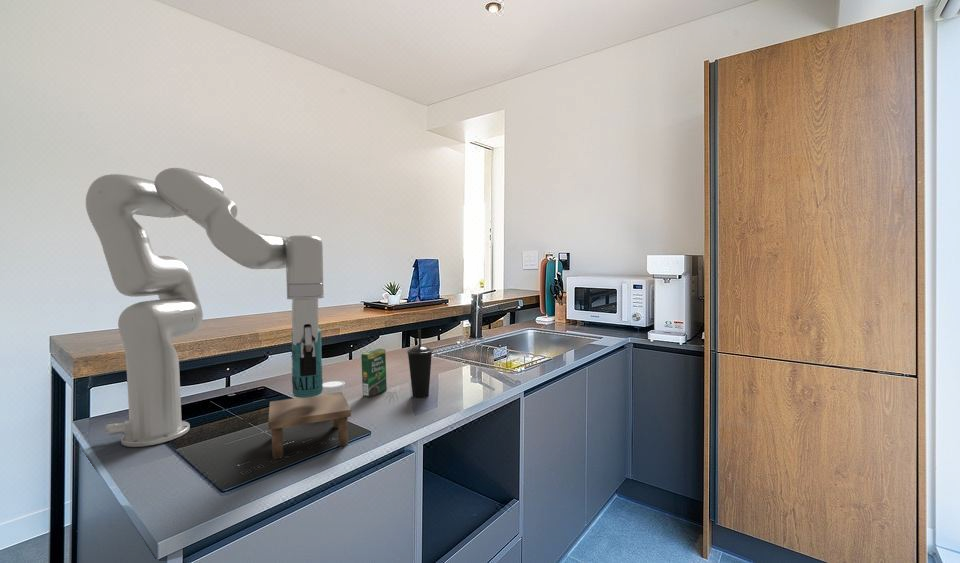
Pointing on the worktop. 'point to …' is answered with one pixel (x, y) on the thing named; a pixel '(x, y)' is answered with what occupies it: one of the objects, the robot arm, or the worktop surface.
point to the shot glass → (333, 387)
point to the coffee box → (374, 372)
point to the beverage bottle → (306, 384)
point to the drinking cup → (420, 369)
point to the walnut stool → (308, 416)
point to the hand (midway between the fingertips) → (307, 370)
